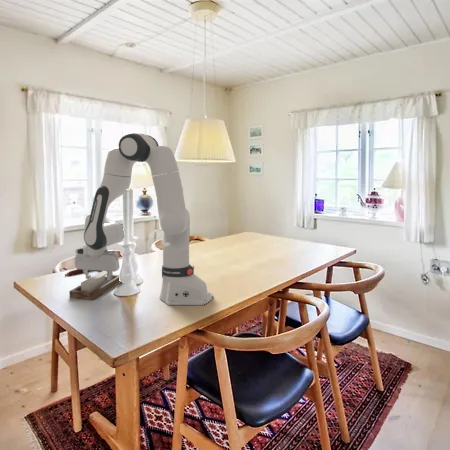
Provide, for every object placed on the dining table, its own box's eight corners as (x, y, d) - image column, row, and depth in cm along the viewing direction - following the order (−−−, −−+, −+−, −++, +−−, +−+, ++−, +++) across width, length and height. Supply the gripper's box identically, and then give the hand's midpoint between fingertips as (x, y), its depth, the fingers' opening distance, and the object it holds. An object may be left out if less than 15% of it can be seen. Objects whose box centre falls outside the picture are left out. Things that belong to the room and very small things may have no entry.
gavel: (69, 272, 177) (59, 269, 183) (70, 281, 178) (60, 277, 184) (107, 262, 192) (97, 258, 199) (107, 270, 193) (98, 266, 200)
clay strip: (112, 280, 172) (112, 270, 171) (89, 294, 152) (89, 283, 152) (105, 280, 172) (104, 270, 172) (81, 294, 153) (80, 282, 152)
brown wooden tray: (122, 281, 174) (122, 275, 174) (93, 300, 149) (93, 293, 148) (102, 279, 176) (101, 273, 176) (69, 298, 151) (69, 291, 151)
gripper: (121, 249, 161) (122, 278, 163) (80, 246, 165) (81, 275, 167) (114, 252, 155) (115, 283, 157) (71, 249, 159) (73, 279, 161)
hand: (97, 279), depth 162 cm, fingers open, 8 cm apart
